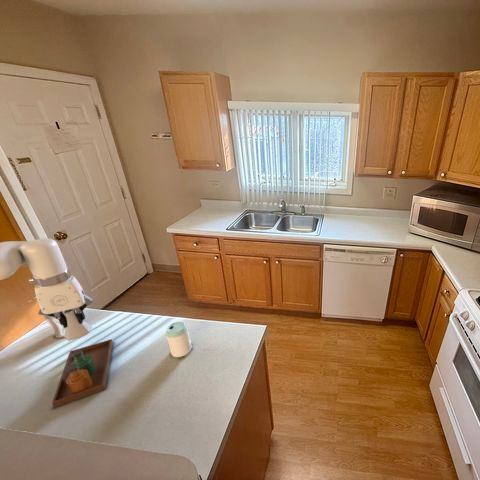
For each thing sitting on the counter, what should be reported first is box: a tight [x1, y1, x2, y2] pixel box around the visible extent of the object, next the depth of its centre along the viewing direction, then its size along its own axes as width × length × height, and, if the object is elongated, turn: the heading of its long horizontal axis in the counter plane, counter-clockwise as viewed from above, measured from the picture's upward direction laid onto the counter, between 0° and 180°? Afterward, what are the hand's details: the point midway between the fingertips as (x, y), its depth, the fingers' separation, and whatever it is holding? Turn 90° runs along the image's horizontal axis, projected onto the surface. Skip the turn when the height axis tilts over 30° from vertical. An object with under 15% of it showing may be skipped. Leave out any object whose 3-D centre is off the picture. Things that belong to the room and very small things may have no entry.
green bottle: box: [71, 348, 96, 375], centre depth 86 cm, size 5×5×9 cm
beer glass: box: [42, 311, 66, 339], centre depth 101 cm, size 7×7×15 cm
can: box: [165, 321, 193, 358], centre depth 96 cm, size 7×7×12 cm
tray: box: [51, 339, 114, 408], centre depth 88 cm, size 22×12×2 cm, turn 31°
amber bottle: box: [66, 364, 93, 394], centre depth 81 cm, size 5×5×9 cm
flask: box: [62, 309, 93, 342], centre depth 86 cm, size 7×7×10 cm
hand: (74, 322), depth 86 cm, fingers closed on flask, 3 cm apart
